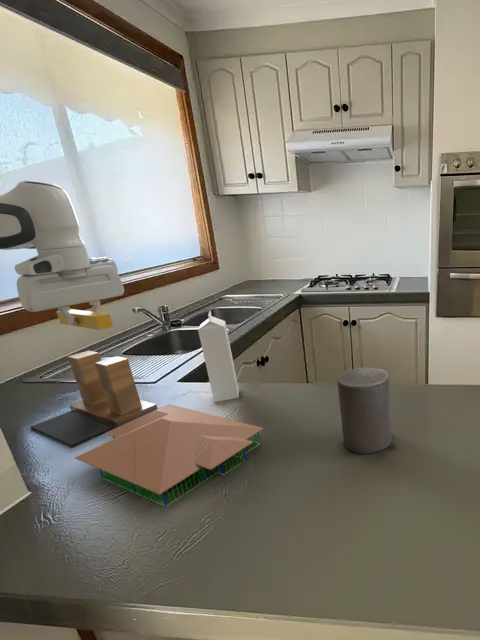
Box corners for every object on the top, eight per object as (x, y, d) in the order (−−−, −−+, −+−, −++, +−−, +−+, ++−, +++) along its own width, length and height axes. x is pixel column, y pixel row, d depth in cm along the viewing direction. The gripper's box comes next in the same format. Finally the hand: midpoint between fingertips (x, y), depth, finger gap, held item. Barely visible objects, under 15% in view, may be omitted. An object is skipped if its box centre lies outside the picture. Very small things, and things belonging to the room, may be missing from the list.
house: (175, 516, 65) (162, 471, 63) (67, 467, 82) (53, 429, 79) (276, 445, 84) (270, 408, 81) (172, 416, 100) (163, 384, 97)
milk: (214, 402, 106) (194, 316, 98) (215, 393, 111) (196, 311, 103) (239, 398, 107) (221, 313, 99) (239, 389, 113) (222, 308, 105)
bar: (113, 326, 95) (109, 313, 94) (99, 330, 92) (95, 316, 91) (73, 320, 104) (70, 308, 103) (60, 323, 101) (56, 311, 100)
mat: (115, 428, 96) (114, 426, 96) (72, 447, 89) (71, 445, 89) (72, 412, 106) (71, 410, 106) (31, 428, 99) (30, 426, 99)
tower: (157, 409, 104) (142, 356, 99) (117, 427, 96) (98, 370, 91) (110, 395, 115) (94, 346, 110) (70, 410, 108) (52, 358, 103)
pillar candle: (333, 443, 83) (324, 372, 77) (367, 424, 89) (362, 357, 84) (369, 460, 76) (362, 383, 71) (403, 438, 83) (399, 366, 78)
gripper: (106, 256, 103) (121, 311, 108) (4, 267, 87) (28, 332, 91) (120, 255, 99) (135, 313, 104) (17, 267, 83) (41, 335, 88)
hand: (84, 322), depth 98 cm, fingers closed on bar, 3 cm apart
